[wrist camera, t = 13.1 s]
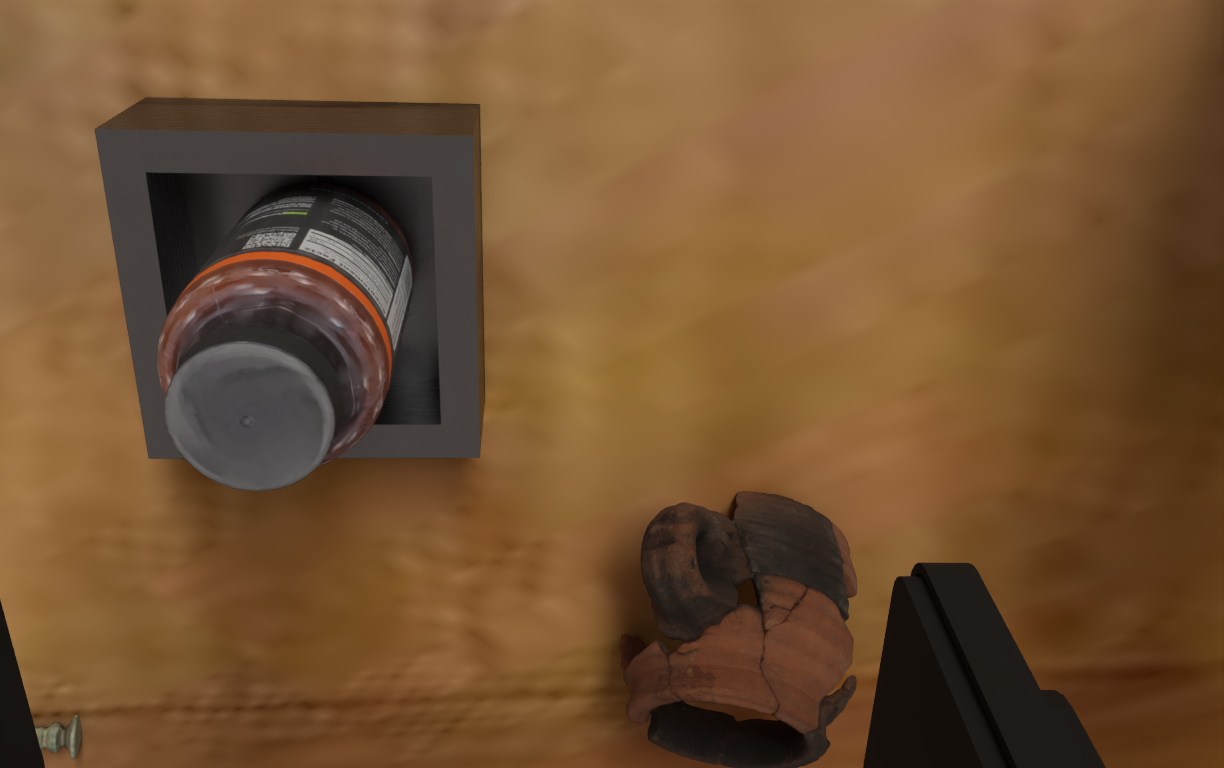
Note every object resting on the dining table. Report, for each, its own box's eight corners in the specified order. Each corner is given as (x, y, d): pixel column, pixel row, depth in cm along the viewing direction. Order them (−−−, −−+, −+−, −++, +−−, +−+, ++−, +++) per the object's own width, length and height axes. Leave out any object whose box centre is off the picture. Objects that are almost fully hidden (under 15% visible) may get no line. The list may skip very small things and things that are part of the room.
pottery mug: (902, 578, 45) (896, 779, 40) (702, 604, 50) (675, 785, 45) (767, 408, 38) (739, 627, 33) (549, 458, 43) (496, 654, 38)
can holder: (145, 97, 35) (94, 128, 31) (479, 104, 36) (473, 135, 32) (188, 396, 39) (148, 458, 35) (485, 396, 40) (479, 457, 36)
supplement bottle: (312, 380, 38) (230, 570, 28) (193, 241, 36) (57, 393, 26) (454, 288, 37) (423, 451, 27) (341, 139, 35) (261, 255, 25)
